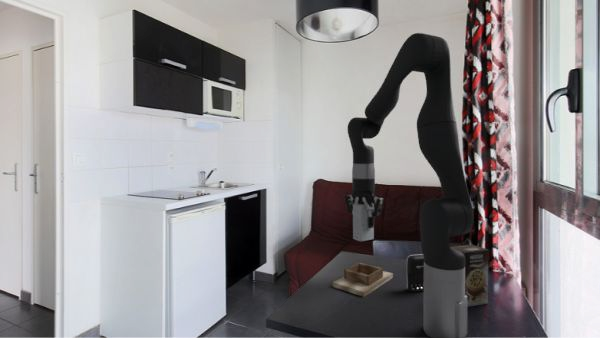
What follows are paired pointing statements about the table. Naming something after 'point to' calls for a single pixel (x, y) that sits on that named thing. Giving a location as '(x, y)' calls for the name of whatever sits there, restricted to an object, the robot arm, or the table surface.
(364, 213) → the skincare box
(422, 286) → the battery charger
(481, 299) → the coffee box
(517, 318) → the table surface
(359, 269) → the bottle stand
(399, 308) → the table surface
